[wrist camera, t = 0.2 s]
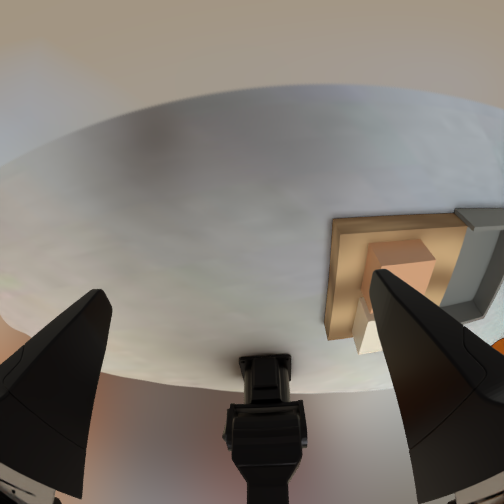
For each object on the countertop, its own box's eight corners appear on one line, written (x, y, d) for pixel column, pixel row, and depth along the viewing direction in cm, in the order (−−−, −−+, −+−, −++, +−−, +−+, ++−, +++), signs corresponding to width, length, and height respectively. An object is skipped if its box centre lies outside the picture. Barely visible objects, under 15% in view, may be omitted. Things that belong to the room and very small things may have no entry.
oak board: (423, 308, 30) (431, 323, 27) (324, 323, 30) (327, 340, 28) (454, 213, 22) (467, 226, 20) (332, 218, 23) (340, 234, 21)
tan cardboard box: (408, 283, 24) (420, 305, 21) (360, 289, 24) (370, 313, 22) (420, 239, 21) (436, 260, 19) (368, 243, 21) (381, 266, 19)
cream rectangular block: (394, 325, 27) (402, 346, 25) (351, 331, 28) (358, 354, 25) (405, 291, 24) (417, 313, 22) (359, 297, 25) (368, 321, 22)
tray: (472, 300, 29) (483, 318, 26) (422, 311, 30) (433, 332, 27) (507, 208, 21) (525, 224, 18) (455, 208, 22) (474, 227, 19)
